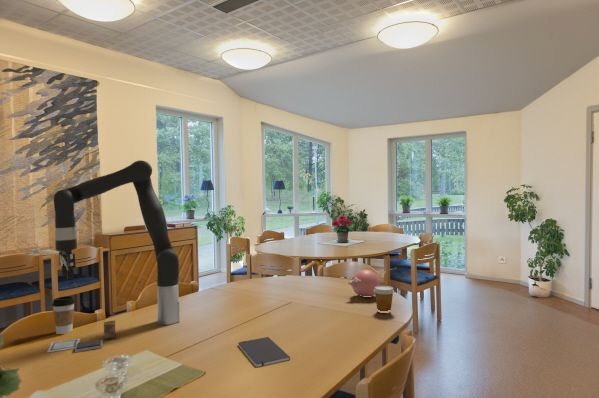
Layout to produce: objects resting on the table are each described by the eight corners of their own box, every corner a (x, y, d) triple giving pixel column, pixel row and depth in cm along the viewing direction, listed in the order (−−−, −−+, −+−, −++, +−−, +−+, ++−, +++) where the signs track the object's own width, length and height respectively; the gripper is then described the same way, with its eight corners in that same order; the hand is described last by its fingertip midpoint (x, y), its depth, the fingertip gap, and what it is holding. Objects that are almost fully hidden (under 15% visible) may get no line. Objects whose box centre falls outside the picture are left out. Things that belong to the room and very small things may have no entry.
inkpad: (102, 342, 153) (102, 338, 153) (101, 348, 147) (101, 344, 147) (76, 346, 149) (76, 342, 149) (74, 352, 144) (74, 348, 144)
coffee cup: (49, 336, 159) (48, 301, 159) (56, 329, 168) (55, 295, 167) (72, 334, 162) (71, 299, 161) (78, 327, 170) (77, 294, 170)
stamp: (115, 335, 161) (115, 320, 160) (115, 339, 157) (115, 323, 156) (104, 337, 159) (103, 321, 159) (103, 340, 155) (103, 325, 155)
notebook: (290, 361, 135) (268, 340, 155) (290, 356, 135) (268, 336, 155) (256, 368, 130) (237, 346, 149) (256, 364, 130) (237, 342, 149)
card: (80, 339, 157) (80, 338, 157) (77, 348, 148) (77, 347, 148) (51, 343, 152) (51, 342, 152) (46, 352, 143) (46, 351, 143)
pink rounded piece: (339, 297, 215) (339, 269, 215) (367, 292, 225) (367, 266, 224) (356, 303, 202) (356, 274, 201) (385, 298, 211) (385, 270, 211)
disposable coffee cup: (392, 309, 192) (392, 285, 191) (395, 315, 182) (395, 290, 182) (373, 309, 193) (373, 285, 192) (375, 315, 183) (374, 290, 183)
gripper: (81, 238, 154) (83, 278, 155) (71, 236, 165) (73, 273, 165) (60, 240, 149) (62, 282, 150) (51, 238, 159) (52, 276, 160)
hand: (67, 277), depth 157 cm, fingers open, 8 cm apart
